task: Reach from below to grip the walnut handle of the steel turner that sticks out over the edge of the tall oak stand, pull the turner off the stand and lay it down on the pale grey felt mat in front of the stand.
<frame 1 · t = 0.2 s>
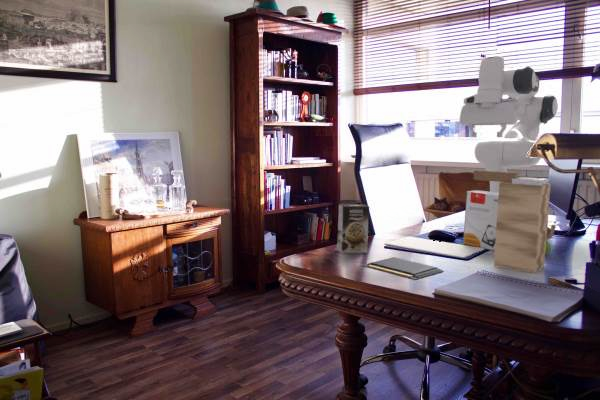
hand: (486, 137, 192), 40 cm above the table, tool pointing down, fingers open, 8 cm apart
cookie box: (352, 252, 179), on the table
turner: (516, 182, 161), point 26 cm above the table, touching stand
stand: (518, 266, 162), on the table
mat: (433, 246, 188), on the table
hard drive box: (486, 247, 190), on the table
grey book: (402, 271, 157), on the table
snail figurine: (543, 255, 179), on the table
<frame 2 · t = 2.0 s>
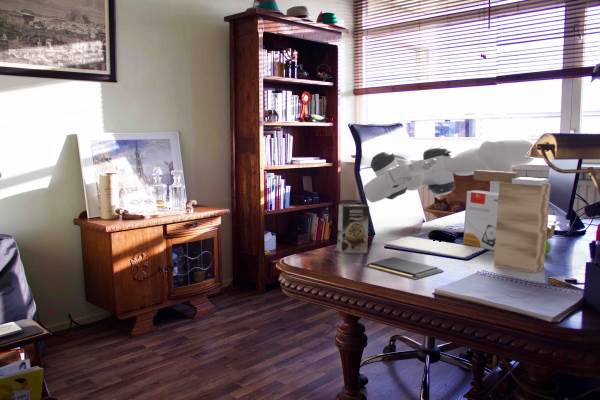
hand: (430, 161, 186), 31 cm above the table, tool pointing upward, fingers open, 8 cm apart
nothing on the table moved.
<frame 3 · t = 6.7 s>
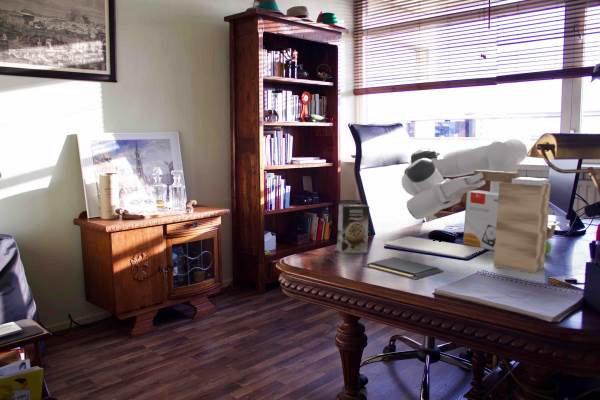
hand: (485, 174, 167), 28 cm above the table, tool pointing upward, fingers closed on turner, 3 cm apart
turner: (516, 182, 161), point 26 cm above the table, touching gripper, stand
everything else where it was.
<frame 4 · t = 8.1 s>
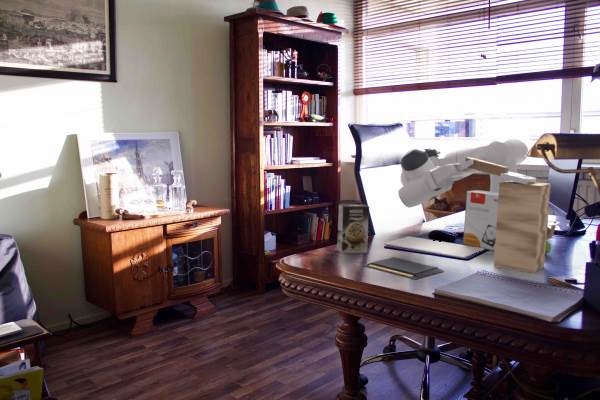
hand: (476, 161, 168), 32 cm above the table, tool pointing upward, fingers closed on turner, 3 cm apart
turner: (504, 176, 162), point 28 cm above the table, tilted 11°, touching gripper
everything else where it was.
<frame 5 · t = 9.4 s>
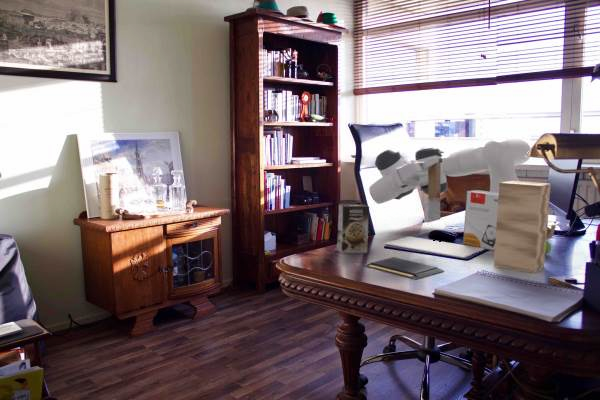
hand: (440, 159, 176), 32 cm above the table, tool pointing upward, fingers closed on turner, 3 cm apart
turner: (430, 197, 180), point 19 cm above the table, tilted 87°, touching gripper
everything else where it was.
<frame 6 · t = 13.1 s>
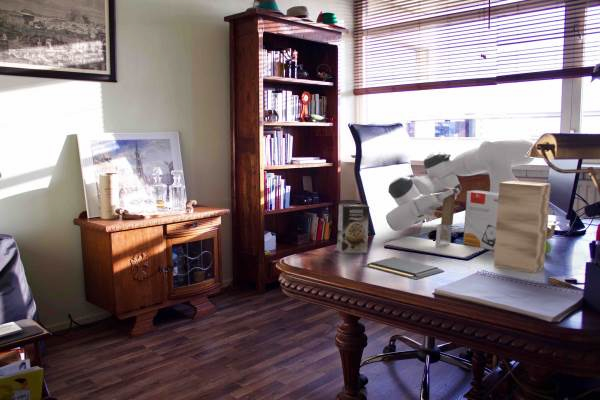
hand: (455, 190, 184), 21 cm above the table, tool pointing upward, fingers closed on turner, 3 cm apart
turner: (442, 223, 188), point 8 cm above the table, tilted 92°, touching gripper, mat
everything else where it was.
when the fingers open (20 cm above the table, at t = 13.6 s): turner drops 5 cm and tips over, resting on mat.
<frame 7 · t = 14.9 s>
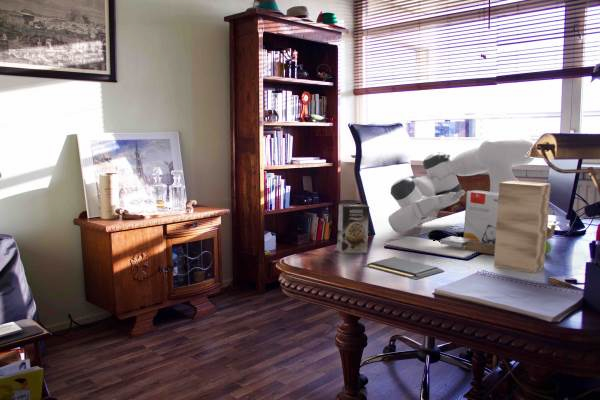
hand: (458, 192, 184), 20 cm above the table, tool pointing upward, fingers open, 8 cm apart
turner: (467, 241, 183), point 3 cm above the table, tilted 180°, touching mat
everything else where it was.
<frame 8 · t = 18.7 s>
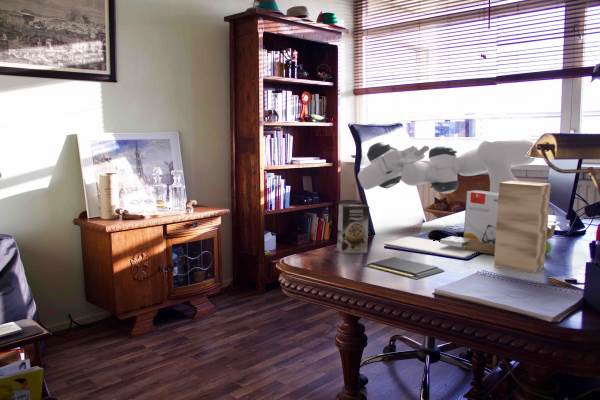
hand: (421, 147, 191), 35 cm above the table, tool pointing upward, fingers open, 8 cm apart
nothing on the table moved.
at the end: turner inside the target area on the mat (11.5 cm from its centre), point 3.4 cm above the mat's base; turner touching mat; the gripper is holding nothing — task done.
